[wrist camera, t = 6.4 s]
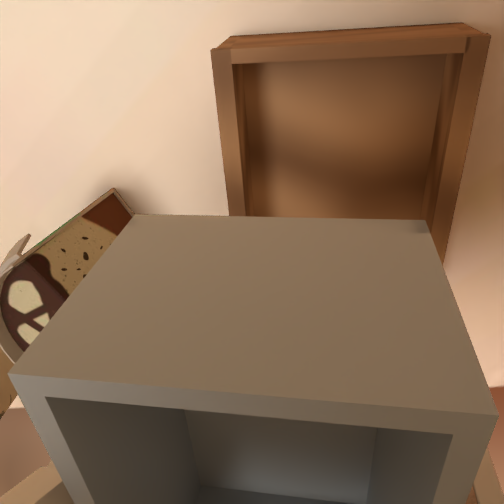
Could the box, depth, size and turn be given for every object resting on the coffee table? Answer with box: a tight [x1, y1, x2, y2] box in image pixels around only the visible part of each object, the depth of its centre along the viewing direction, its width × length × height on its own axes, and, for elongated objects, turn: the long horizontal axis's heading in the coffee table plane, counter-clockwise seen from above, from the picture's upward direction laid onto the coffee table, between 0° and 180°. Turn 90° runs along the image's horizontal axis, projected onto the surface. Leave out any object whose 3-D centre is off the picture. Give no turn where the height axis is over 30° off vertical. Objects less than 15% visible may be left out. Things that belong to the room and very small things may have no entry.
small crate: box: [7, 214, 499, 504], centre depth 10 cm, size 10×6×4 cm, turn 3°
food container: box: [0, 188, 135, 364], centre depth 28 cm, size 12×6×10 cm, turn 30°
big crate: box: [210, 23, 491, 266], centre depth 24 cm, size 14×12×4 cm
